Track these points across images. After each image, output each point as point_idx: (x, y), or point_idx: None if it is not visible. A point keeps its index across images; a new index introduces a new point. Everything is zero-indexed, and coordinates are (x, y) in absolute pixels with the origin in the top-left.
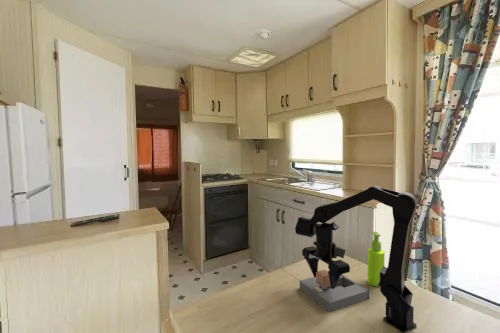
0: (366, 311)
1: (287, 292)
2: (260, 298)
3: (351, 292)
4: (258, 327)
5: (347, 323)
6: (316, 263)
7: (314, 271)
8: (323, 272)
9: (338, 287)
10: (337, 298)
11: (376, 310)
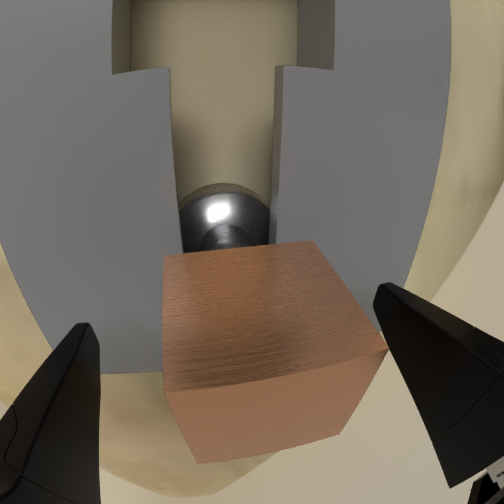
0: (461, 109)
1: (117, 387)
2: (148, 445)
3: (419, 88)
4: (276, 451)
5: (440, 263)
6: (45, 484)
7: (88, 405)
8: (259, 428)
9: (299, 122)
10: (399, 264)
11: (475, 57)
